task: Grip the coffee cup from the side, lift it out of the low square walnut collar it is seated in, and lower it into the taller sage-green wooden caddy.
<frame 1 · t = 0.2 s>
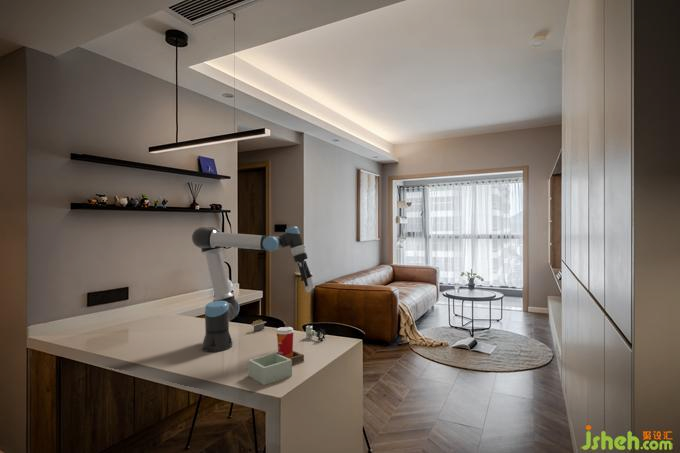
hand: (310, 290, 202), 27 cm above the breakfast bar, tool tilted 15°, fingers open, 13 cm apart
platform: (258, 331, 224), on the breakfast bar
caddy: (270, 375, 151), on the breakfast bar
valve: (314, 339, 202), on the breakfast bar
coffee cup: (285, 361, 167), resting in walnut collar
walnut collar: (285, 361, 167), on the breakfast bar
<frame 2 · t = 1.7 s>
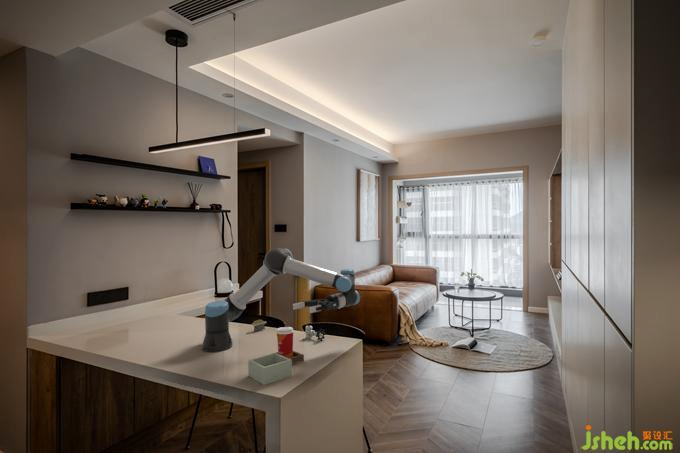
hand: (301, 308, 175), 23 cm above the breakfast bar, tool horizontal, fingers open, 13 cm apart
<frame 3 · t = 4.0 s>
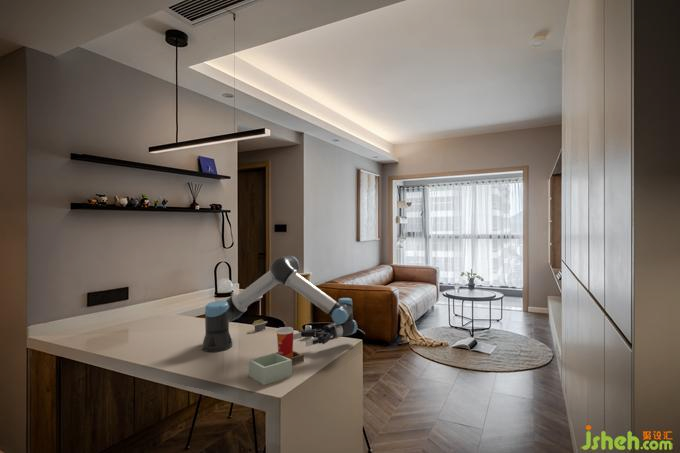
hand: (297, 340, 172), 8 cm above the breakfast bar, tool horizontal, fingers open, 13 cm apart
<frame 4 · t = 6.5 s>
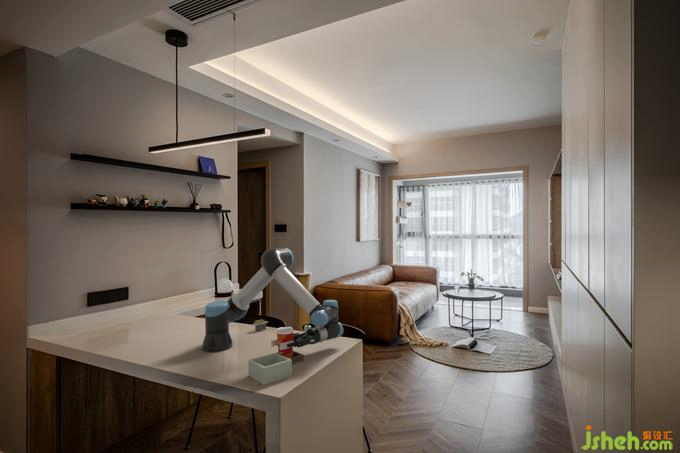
hand: (275, 345, 164), 9 cm above the breakfast bar, tool horizontal, fingers closed on coffee cup, 7 cm apart
coffee cup: (285, 361, 167), resting in walnut collar, touching gripper
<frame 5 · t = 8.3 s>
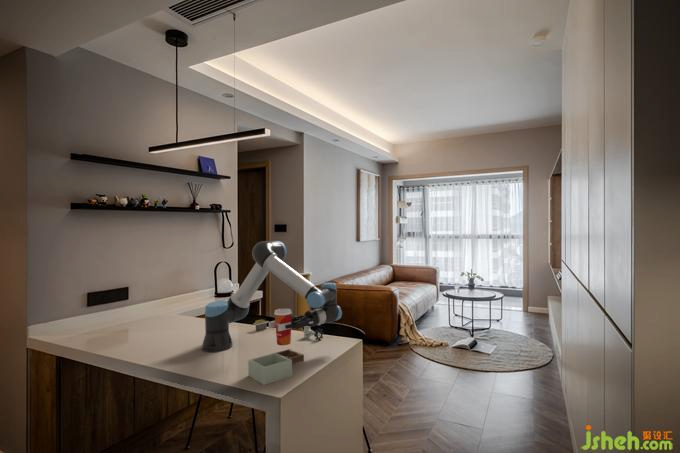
hand: (273, 326, 160), 18 cm above the breakfast bar, tool horizontal, fingers closed on coffee cup, 7 cm apart
coffee cup: (283, 343, 163), point 9 cm above the breakfast bar, touching gripper
when the fingers open (12 cm above the breakfast bar, at t = 10.6 s): coffee cup drops 3 cm, resting in caddy.
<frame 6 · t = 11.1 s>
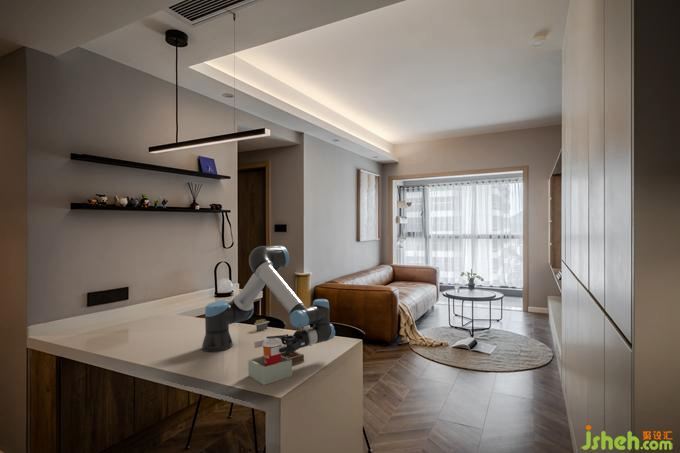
hand: (262, 348, 149), 12 cm above the breakfast bar, tool horizontal, fingers open, 13 cm apart
coffee cup: (273, 377, 149), resting in caddy
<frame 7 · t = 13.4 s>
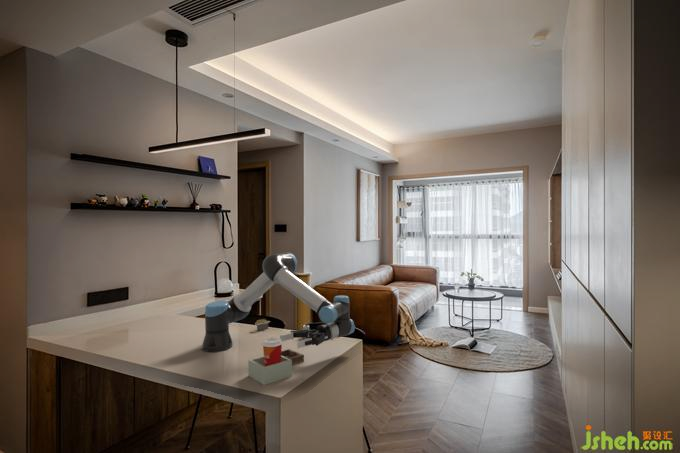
hand: (288, 341, 157), 12 cm above the breakfast bar, tool horizontal, fingers open, 13 cm apart
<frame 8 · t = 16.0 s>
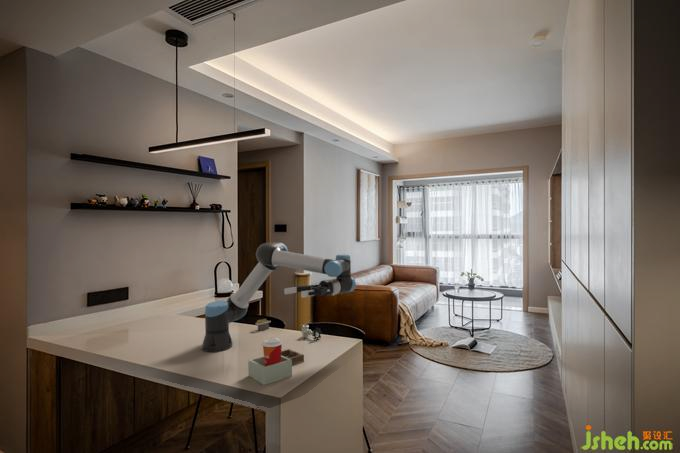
hand: (292, 292, 164), 32 cm above the breakfast bar, tool horizontal, fingers open, 13 cm apart
at the end: coffee cup inside the target area on the caddy (2.1 cm from its centre), point 0.0 cm above the caddy's base; coffee cup tilted 0°; the gripper is holding nothing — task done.
